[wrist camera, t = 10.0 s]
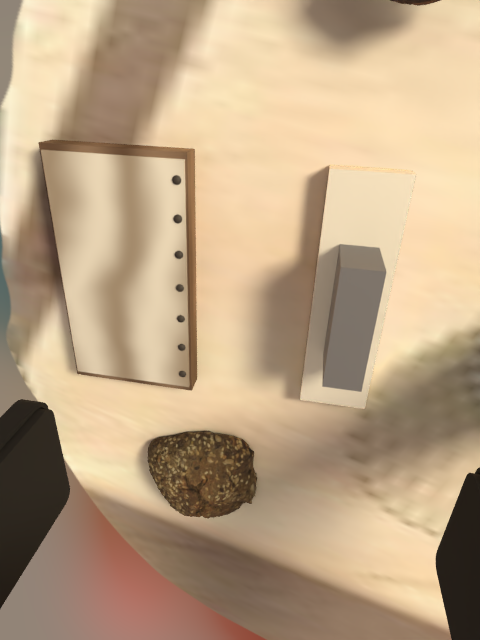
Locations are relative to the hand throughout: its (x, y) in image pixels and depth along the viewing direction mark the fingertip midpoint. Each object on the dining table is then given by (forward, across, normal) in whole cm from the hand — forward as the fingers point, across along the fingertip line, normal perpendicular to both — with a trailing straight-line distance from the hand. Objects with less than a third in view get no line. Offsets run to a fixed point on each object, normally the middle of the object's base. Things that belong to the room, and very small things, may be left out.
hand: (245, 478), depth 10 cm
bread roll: (+29, +8, +32) cm, 44 cm away
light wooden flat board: (+28, +15, +8) cm, 33 cm away
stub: (+28, -5, +8) cm, 30 cm away
